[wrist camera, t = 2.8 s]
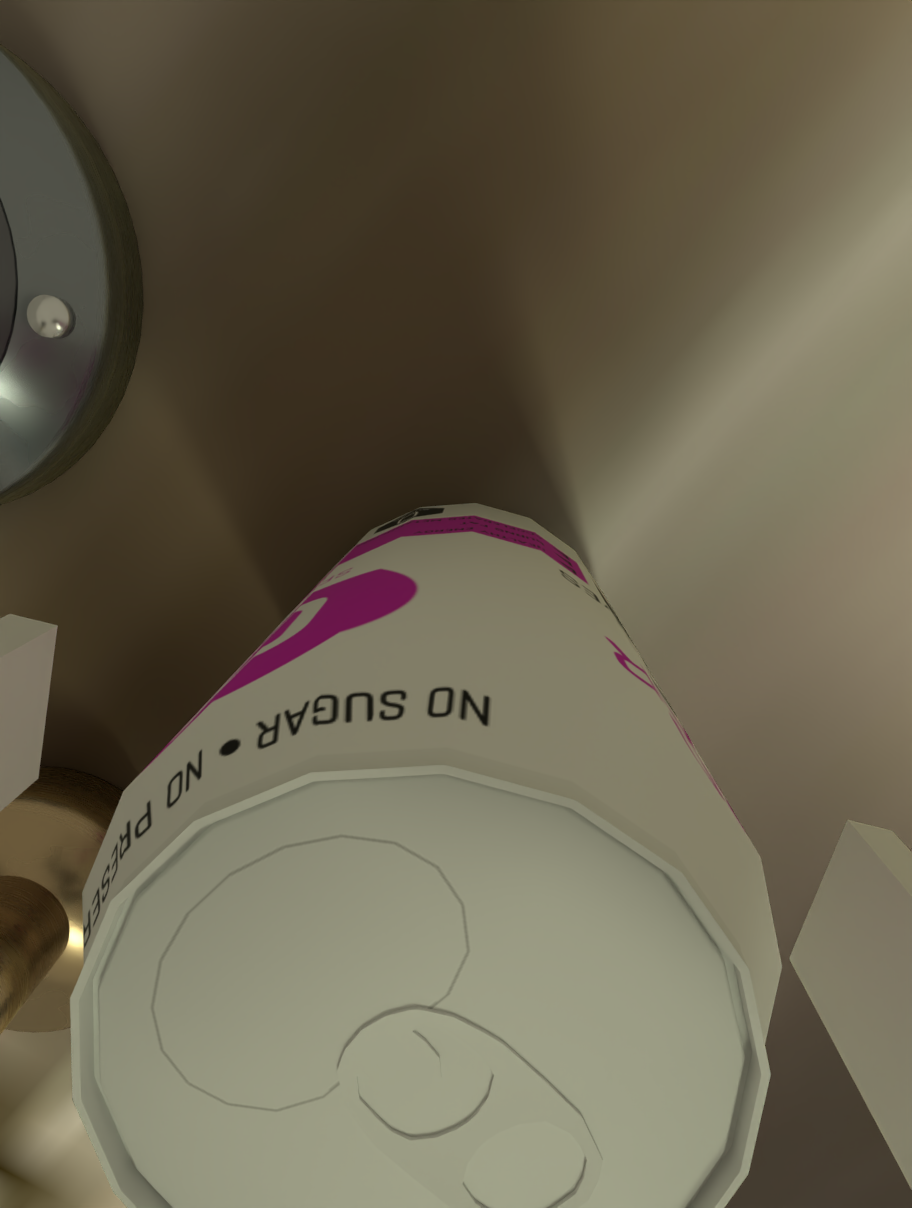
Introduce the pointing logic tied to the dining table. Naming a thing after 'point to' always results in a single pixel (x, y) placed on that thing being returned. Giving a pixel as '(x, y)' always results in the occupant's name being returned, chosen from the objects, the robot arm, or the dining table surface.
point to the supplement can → (429, 911)
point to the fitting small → (47, 893)
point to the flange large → (58, 284)
